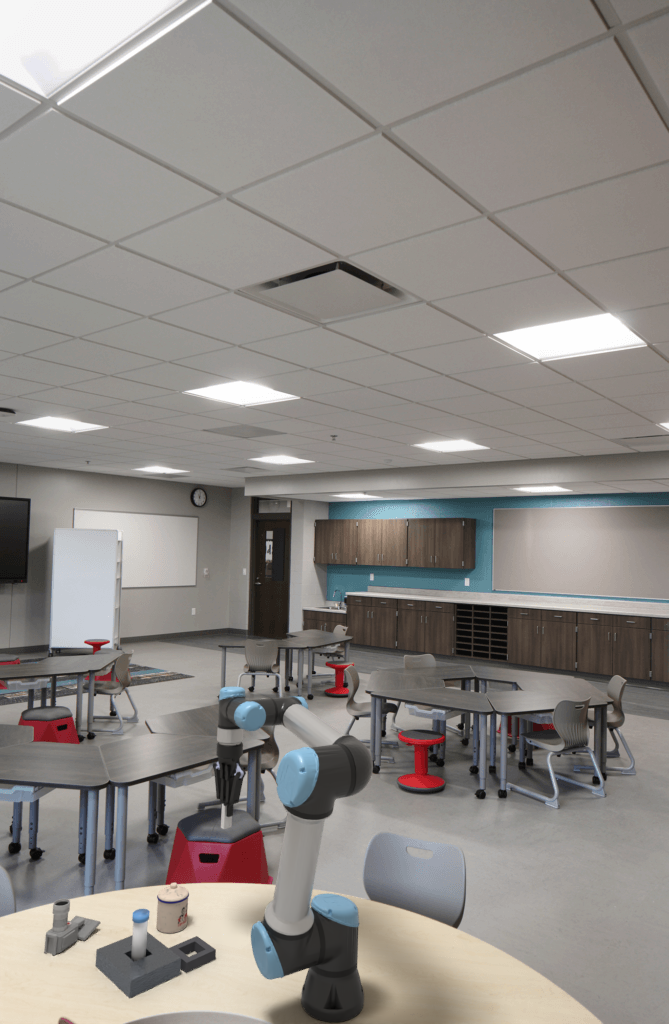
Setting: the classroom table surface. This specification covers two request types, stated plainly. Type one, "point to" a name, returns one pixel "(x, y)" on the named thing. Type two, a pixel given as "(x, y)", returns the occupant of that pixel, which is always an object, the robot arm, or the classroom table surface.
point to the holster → (197, 960)
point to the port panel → (137, 965)
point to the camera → (66, 928)
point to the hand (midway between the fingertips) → (226, 827)
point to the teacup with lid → (172, 909)
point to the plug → (139, 934)
